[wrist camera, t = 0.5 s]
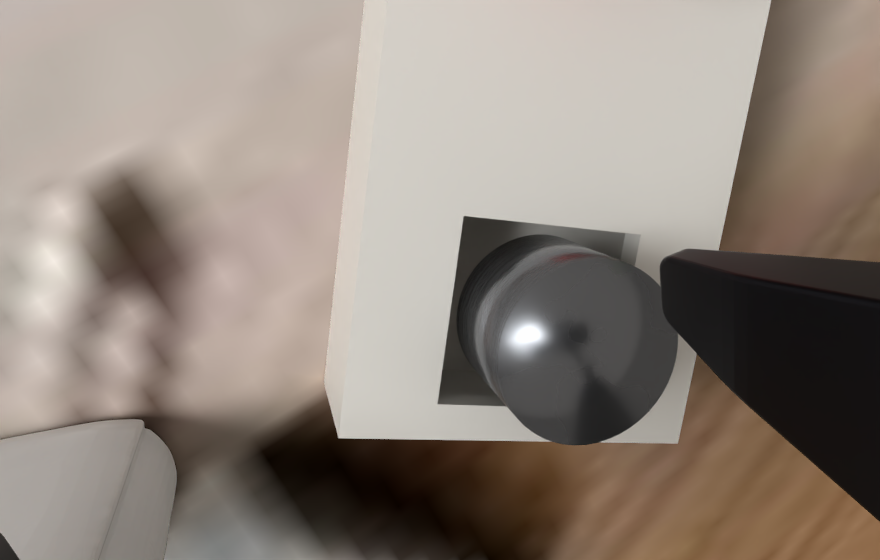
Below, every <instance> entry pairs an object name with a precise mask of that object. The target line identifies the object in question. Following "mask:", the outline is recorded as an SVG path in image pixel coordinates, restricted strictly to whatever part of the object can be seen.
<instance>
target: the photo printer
mask: <svg viewBox="0 0 880 560" xmlns="http://www.w3.org/2000/svg"><path fill="white" fill-rule="evenodd" d="M176 484H177V472H176V466H175V462H174V459H173V456H172V454H171V452H170V450H169V448H168V447H167V446H166V444H165V443H164V442H163V441H162V440H161V439H160V438H159V437H158V436H157V435H156V434H155V433H154V432H152V431H151V430H150V429H146V428H145V427H144V422H143V421H142V420H138V419H123V420H107V421H98V422H91V423H85V424H80V425H74V426H68V427H63V428H58V429H53V430H48V431H42V432H37V433H32V434H27V435H21V436H16V437H11V438H6V439H2V440H0V533H1V534H2V535H3V536H4V537H5V539H6V540H7V542H8V543H9V544H10V546H11V547H12V549H13V550H14V552H15V553H16V555H17V556H18V558H19V559H20V560H164V555H165V550H166V545H167V539H168V532H169V523H170V518H171V513H172V508H173V502H174V497H175V490H176Z"/></svg>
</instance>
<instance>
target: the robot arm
mask: <svg viewBox="0 0 880 560" xmlns="http://www.w3.org/2000/svg"><path fill="white" fill-rule="evenodd" d="M660 287H661V304H662V310H663V314H664V316H665V318H666V320H667V321H668V323H669V324H670V325H671V326H672V327H673V328H674V329H675V331H676V332H677V333H678V334H679V335H680V336H681V337H682V338H683V339H684V340H685V341H686V342H687V343H688V345H689V346H690V347H691V348H692V349H693V350H694V351H695V352H696V353H697V354H698V355H699V356H700V358H701V359H702V360H703V361H704V362H705V363H706V364H707V365H708V366H709V367H710V368H711V369H712V370H713V372H714V373H715V374H716V375H717V376H718V377H719V378H720V379H721V380H722V381H723V382H724V383H725V384H726V385H727V386H728V387H729V388H730V389H731V390H732V391H733V392H734V393H735V394H736V395H737V396H738V397H739V398H740V399H741V400H742V401H743V402H744V403H745V404H746V405H748V406H749V407H750V408H751V409H752V410H753V411H754V412H755V413H757V414H758V415H759V416H760V417H761V418H762V419H763V420H765V421H766V422H767V423H768V424H769V425H770V426H771V427H773V428H774V429H775V430H776V431H777V432H778V433H779V434H781V435H782V436H783V437H784V438H785V439H786V440H787V441H789V442H790V443H791V444H792V445H793V446H794V447H795V448H797V449H798V450H799V451H800V452H801V453H802V454H803V455H804V456H806V457H807V458H808V459H809V460H810V461H811V462H812V463H814V464H815V465H816V466H817V467H818V468H819V469H820V470H822V471H823V472H824V473H825V474H826V475H827V476H828V477H830V478H831V479H832V480H833V481H834V482H835V483H836V484H838V485H839V486H840V487H841V488H842V489H843V490H844V491H845V492H847V493H848V494H849V495H850V496H851V497H852V498H853V499H855V500H856V501H857V502H858V503H859V504H860V505H861V506H863V507H864V508H865V509H866V510H867V511H868V512H869V513H871V514H872V515H873V516H874V517H875V518H876V519H877V520H879V521H880V262H867V261H854V260H840V259H826V258H813V257H799V256H786V255H772V254H758V253H745V252H731V251H717V250H704V249H683V250H681V251H678V252H676V253H673V254H671V255H669V256H666V257H664V258H663V260H662V261H661V263H660ZM0 560H20V559H19V558H18V556H17V555H16V553H15V552H14V550H13V549H12V547H11V546H10V544H9V543H8V542H7V540H6V539H5V537H4V536H3V535H2V534H1V533H0Z"/></svg>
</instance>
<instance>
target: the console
mask: <svg viewBox="0 0 880 560" xmlns="http://www.w3.org/2000/svg"><path fill="white" fill-rule="evenodd" d="M770 4H771V0H364V8H363V17H362V27H361V36H360V46H359V55H358V65H357V74H356V84H355V93H354V103H353V112H352V121H351V131H350V140H349V150H348V159H347V169H346V178H345V188H344V197H343V207H342V216H341V226H340V235H339V244H338V254H337V263H336V273H335V282H334V292H333V301H332V311H331V320H330V330H329V339H328V349H327V358H326V367H325V377H324V385H325V389H326V393H327V396H328V400H329V404H330V408H331V412H332V415H333V419H334V423H335V427H336V431H337V435H338V438H352V439H416V440H481V441H545V442H552V441H549V440H546V439H544V438H542V437H540V436H538V435H536V434H535V433H533V432H532V431H530V430H529V429H528V428H526V427H525V426H524V425H523V424H522V423H521V422H520V421H519V420H518V419H517V418H516V416H515V415H514V414H513V413H512V412H511V411H510V410H509V408H508V407H507V406H506V405H505V404H504V403H503V402H502V400H501V399H500V398H499V397H498V396H497V395H496V394H495V392H494V391H493V390H492V389H491V388H490V387H489V386H488V384H487V383H486V382H485V381H484V380H483V379H482V377H481V376H480V375H479V374H478V373H477V372H476V371H475V369H474V368H473V367H472V366H471V364H470V363H469V362H468V360H467V359H466V357H465V355H464V353H463V351H462V348H461V345H460V342H459V339H458V333H457V323H456V318H457V308H458V303H459V298H460V295H461V292H462V290H463V287H464V285H465V283H466V281H467V279H468V277H469V276H470V274H471V273H472V271H473V270H474V268H475V267H476V266H477V265H478V264H479V262H480V261H481V260H482V259H483V258H484V257H485V256H487V255H488V254H489V253H490V252H491V251H493V250H494V249H496V248H497V247H499V246H500V245H502V244H504V243H506V242H508V241H511V240H513V239H516V238H519V237H523V236H527V235H536V234H542V235H552V236H558V237H561V238H564V239H567V240H569V241H572V242H575V243H577V244H580V245H582V246H585V247H587V248H590V249H592V250H595V251H597V252H600V253H603V254H605V255H608V256H610V257H613V258H615V259H618V260H620V261H623V262H625V263H628V264H631V265H633V266H635V267H637V268H639V269H641V270H642V271H644V272H645V273H646V274H648V275H649V276H650V277H651V278H652V279H654V280H655V281H656V282H657V283H658V284H659V286H660V263H661V261H662V260H663V258H664V257H666V256H669V255H671V254H673V253H676V252H678V251H681V250H683V249H704V250H717V251H719V246H720V241H721V237H722V232H723V227H724V222H725V218H726V213H727V208H728V203H729V199H730V194H731V189H732V184H733V180H734V175H735V170H736V165H737V161H738V156H739V151H740V146H741V142H742V137H743V132H744V128H745V123H746V118H747V113H748V109H749V104H750V99H751V94H752V90H753V85H754V80H755V75H756V71H757V66H758V61H759V56H760V52H761V47H762V42H763V37H764V33H765V28H766V23H767V18H768V14H769V9H770ZM696 355H697V353H696V352H695V351H694V350H693V349H692V348H691V347H690V346H689V345H688V343H687V342H686V341H685V340H684V339H683V338H682V337H681V336H680V335H679V334H678V349H677V356H676V361H675V365H674V369H673V372H672V374H671V377H670V380H669V382H668V384H667V386H666V388H665V390H664V392H663V393H662V395H661V396H660V398H659V399H658V401H657V402H656V404H655V405H654V406H653V407H652V408H651V410H650V411H649V412H648V413H647V414H646V415H645V416H644V417H643V418H642V419H641V420H640V421H638V422H637V423H636V424H634V425H633V426H632V427H630V428H629V429H627V430H626V431H624V432H622V433H621V434H619V435H617V436H614V437H612V438H610V439H607V440H604V441H601V442H609V443H674V444H678V440H679V436H680V431H681V426H682V421H683V417H684V412H685V407H686V402H687V398H688V393H689V388H690V384H691V379H692V374H693V369H694V365H695V360H696Z"/></svg>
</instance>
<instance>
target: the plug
mask: <svg viewBox="0 0 880 560" xmlns="http://www.w3.org/2000/svg"><path fill="white" fill-rule="evenodd" d="M456 323H457V333H458V339H459V342H460V345H461V348H462V351H463V353H464V355H465V357H466V359H467V360H468V362H469V363H470V364H471V366H472V367H473V368H474V369H475V371H476V372H477V373H478V374H479V375H480V376H481V377H482V379H483V380H484V381H485V382H486V383H487V384H488V386H489V387H490V388H491V389H492V390H493V391H494V392H495V394H496V395H497V396H498V397H499V398H500V399H501V400H502V402H503V403H504V404H505V405H506V406H507V407H508V408H509V410H510V411H511V412H512V413H513V414H514V415H515V416H516V418H517V419H518V420H519V421H520V422H521V423H522V424H523V425H524V426H525V427H526V428H528V429H529V430H530V431H532V432H533V433H535V434H536V435H538V436H540V437H542V438H544V439H546V440H549V441H552V442H555V443H560V444H565V445H587V444H593V443H598V442H601V441H604V440H607V439H610V438H612V437H614V436H617V435H619V434H621V433H622V432H624V431H626V430H627V429H629V428H630V427H632V426H633V425H634V424H636V423H637V422H638V421H640V420H641V419H642V418H643V417H644V416H645V415H646V414H647V413H648V412H649V411H650V410H651V408H652V407H653V406H654V405H655V404H656V402H657V401H658V399H659V398H660V396H661V395H662V393H663V392H664V390H665V388H666V386H667V384H668V382H669V380H670V377H671V374H672V372H673V369H674V365H675V361H676V356H677V349H678V333H677V332H676V331H675V329H674V328H673V327H672V326H671V325H670V324H669V323H668V321H667V320H666V318H665V316H664V314H663V310H662V304H661V287H660V286H659V284H658V283H657V282H656V281H655V280H654V279H652V278H651V277H650V276H649V275H648V274H646V273H645V272H644V271H642V270H641V269H639V268H637V267H635V266H633V265H631V264H628V263H625V262H623V261H620V260H618V259H615V258H613V257H610V256H608V255H605V254H603V253H600V252H597V251H595V250H592V249H590V248H587V247H585V246H582V245H580V244H577V243H575V242H572V241H569V240H567V239H564V238H561V237H558V236H552V235H542V234H536V235H527V236H523V237H519V238H516V239H513V240H511V241H508V242H506V243H504V244H502V245H500V246H499V247H497V248H496V249H494V250H493V251H491V252H490V253H489V254H488V255H487V256H485V257H484V258H483V259H482V260H481V261H480V262H479V264H478V265H477V266H476V267H475V268H474V270H473V271H472V273H471V274H470V276H469V277H468V279H467V281H466V283H465V285H464V287H463V290H462V292H461V295H460V298H459V303H458V308H457V318H456Z"/></svg>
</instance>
